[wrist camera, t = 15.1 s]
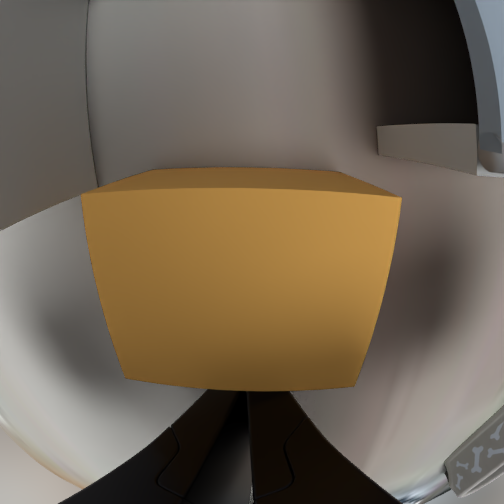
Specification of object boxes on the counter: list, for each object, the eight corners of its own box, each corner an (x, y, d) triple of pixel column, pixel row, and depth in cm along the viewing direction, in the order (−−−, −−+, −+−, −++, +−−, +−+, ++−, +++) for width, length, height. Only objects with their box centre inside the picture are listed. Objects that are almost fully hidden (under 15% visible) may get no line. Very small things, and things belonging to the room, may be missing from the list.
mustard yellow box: (324, 303, 8) (354, 386, 5) (164, 299, 9) (125, 378, 5) (339, 171, 7) (402, 197, 4) (152, 169, 7) (80, 194, 4)
